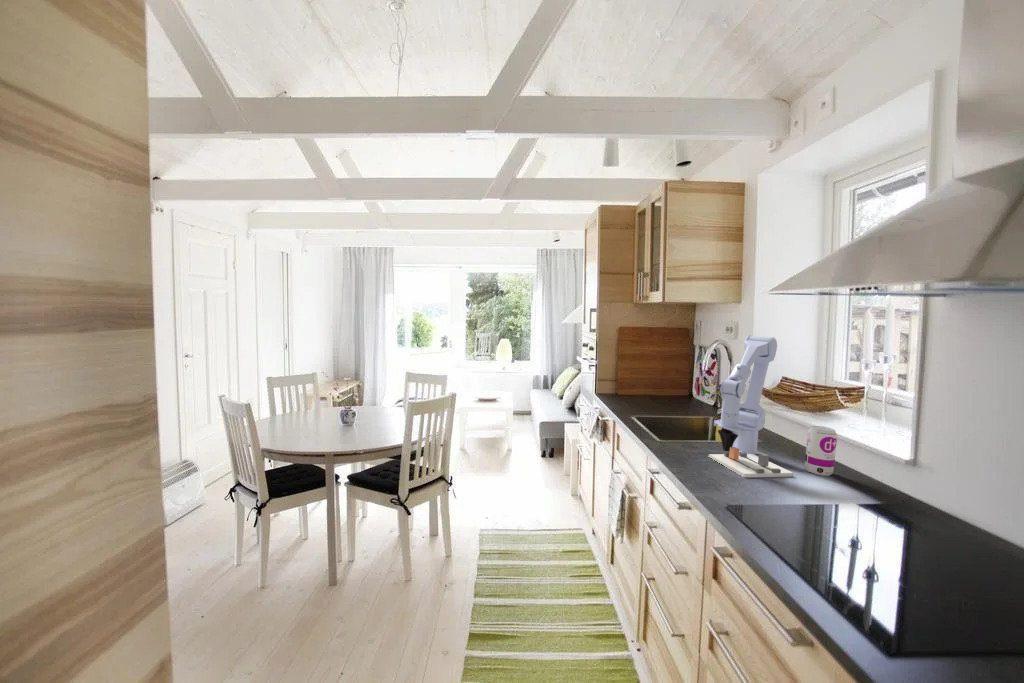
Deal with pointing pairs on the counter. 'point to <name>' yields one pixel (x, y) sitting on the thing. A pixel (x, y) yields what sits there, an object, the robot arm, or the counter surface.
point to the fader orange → (734, 453)
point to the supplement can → (820, 450)
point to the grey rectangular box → (763, 459)
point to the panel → (750, 466)
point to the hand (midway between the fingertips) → (726, 450)
